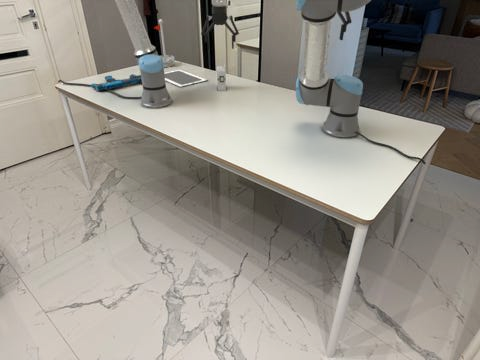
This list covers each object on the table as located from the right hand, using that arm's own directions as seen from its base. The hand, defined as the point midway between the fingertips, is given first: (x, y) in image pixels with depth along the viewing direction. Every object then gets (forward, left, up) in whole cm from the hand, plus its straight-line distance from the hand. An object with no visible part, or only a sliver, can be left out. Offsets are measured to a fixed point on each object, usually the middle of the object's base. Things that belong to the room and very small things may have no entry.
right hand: (326, 39), depth 161 cm
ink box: (+45, +36, -31) cm, 66 cm away
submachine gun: (+81, +88, -31) cm, 124 cm away
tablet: (+75, +52, -31) cm, 97 cm away
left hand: (+45, +36, -9) cm, 59 cm away
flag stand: (+110, +52, -31) cm, 126 cm away
